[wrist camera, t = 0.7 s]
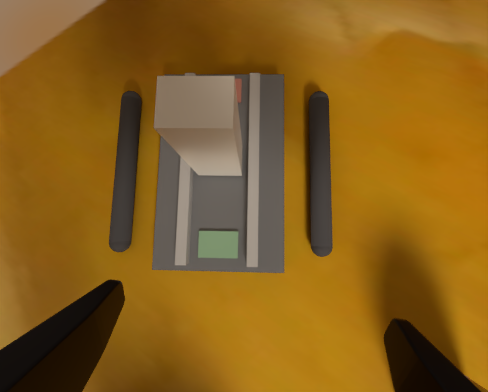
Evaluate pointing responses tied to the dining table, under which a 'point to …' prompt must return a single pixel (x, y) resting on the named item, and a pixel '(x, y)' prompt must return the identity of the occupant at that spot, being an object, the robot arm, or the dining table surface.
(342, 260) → the dining table surface
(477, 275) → the dining table surface
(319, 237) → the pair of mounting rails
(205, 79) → the handle
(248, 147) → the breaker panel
